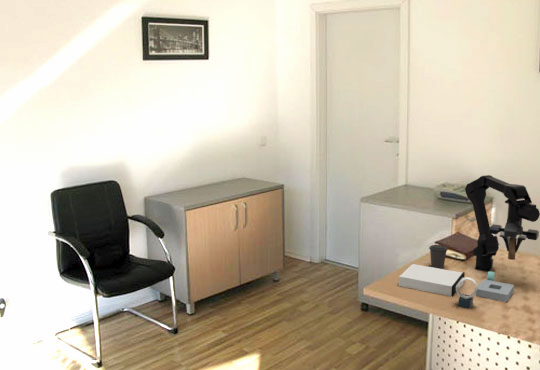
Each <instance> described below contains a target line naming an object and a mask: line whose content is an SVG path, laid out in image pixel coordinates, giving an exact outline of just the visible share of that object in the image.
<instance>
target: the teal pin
mask: <svg viewBox="0 0 540 370" xmlns="http://www.w3.org/2000/svg"><path fill="white" fill-rule="evenodd" d="M495 276H496V273H495V272H494V271H491V270H490V271H489V272H488V271H487V276H486V280H490V281H495Z"/></svg>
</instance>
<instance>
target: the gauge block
mask: <svg viewBox="0 0 540 370" xmlns="http://www.w3.org/2000/svg"><path fill="white" fill-rule="evenodd" d="M514 289H515V284H511V283H507V282H501V281H500V282H499V281H495V280H494V281H490V280H487V279H485V278H484V279H482V281H481V282H480V283H479V284H478V289H477V291H476V293H475V295H476V296H475V297H479V296H480V297H479V298H484V297H485V298H484V299H488V298H489V300H494V301H498V302H504V303H508V302H509V300H510V298H511V297H512V295H513V294H514V291H515V290H514Z"/></svg>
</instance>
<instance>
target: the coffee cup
mask: <svg viewBox="0 0 540 370" xmlns="http://www.w3.org/2000/svg"><path fill="white" fill-rule="evenodd" d="M428 249H429V252H430V264H431V265H430V267H433V268H439V269H444V267H445V262H446V256H447V251H448V247H447V246H445V245H442V244H434V245H433V244H432V245H430V246H429V248H428Z"/></svg>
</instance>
